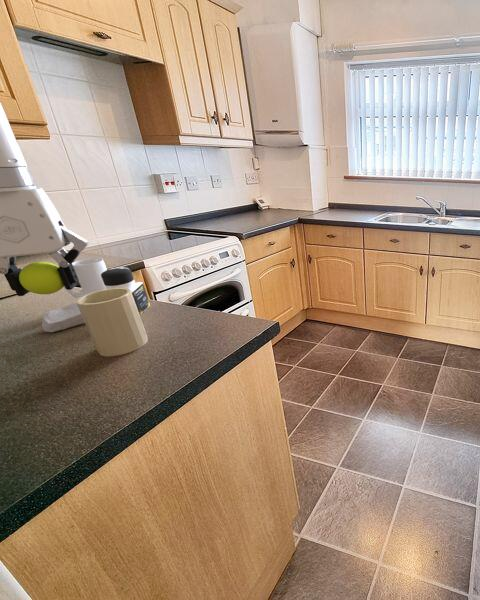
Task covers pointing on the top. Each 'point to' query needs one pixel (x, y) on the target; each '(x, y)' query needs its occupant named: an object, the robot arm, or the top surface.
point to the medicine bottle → (127, 285)
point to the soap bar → (62, 318)
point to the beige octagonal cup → (113, 321)
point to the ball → (41, 278)
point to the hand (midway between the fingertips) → (48, 289)
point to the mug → (89, 276)
